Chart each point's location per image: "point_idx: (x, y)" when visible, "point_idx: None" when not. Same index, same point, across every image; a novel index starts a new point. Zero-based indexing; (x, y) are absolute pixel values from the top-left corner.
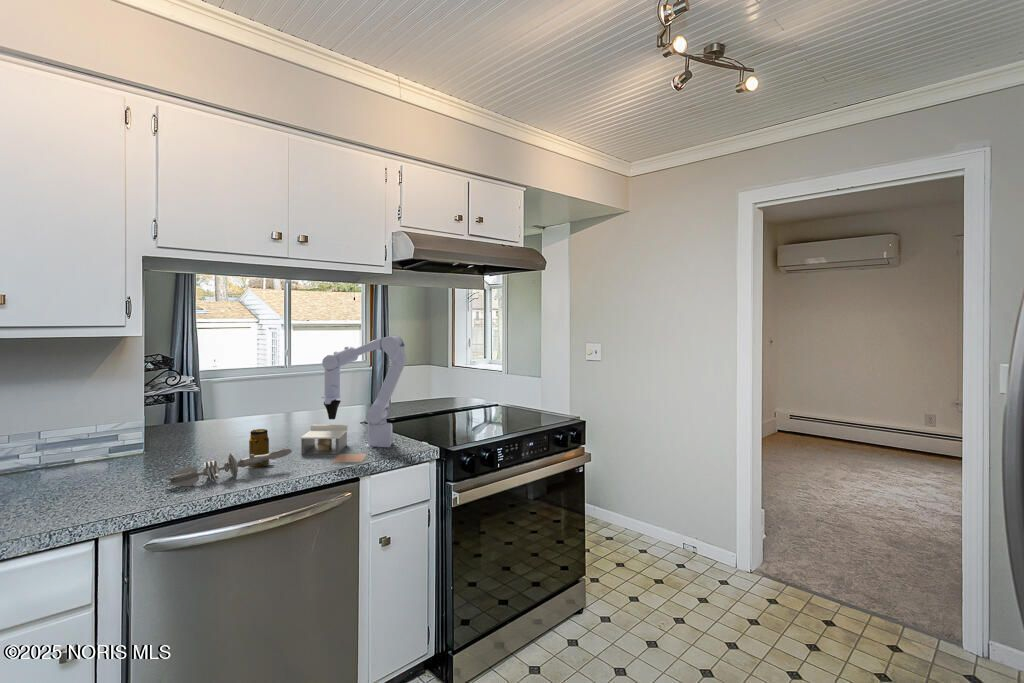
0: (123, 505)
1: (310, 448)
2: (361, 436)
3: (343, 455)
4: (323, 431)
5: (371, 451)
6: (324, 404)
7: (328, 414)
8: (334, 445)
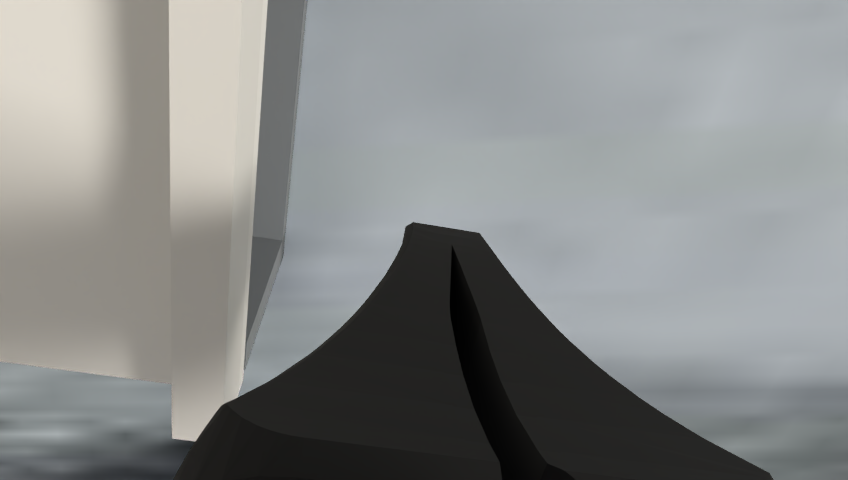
0: None
1: None
2: (685, 366)
3: None
4: (77, 78)
5: (86, 439)
6: (216, 423)
7: (385, 276)
8: (258, 142)
